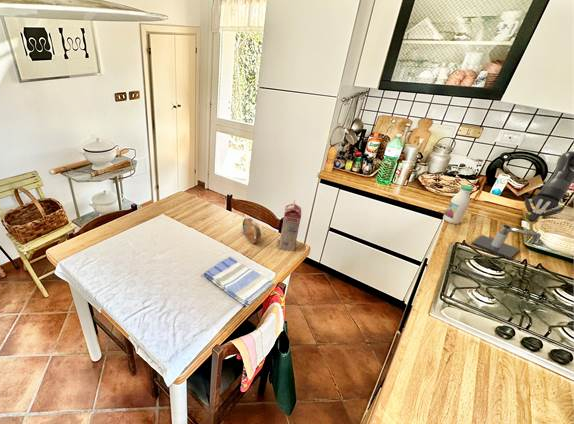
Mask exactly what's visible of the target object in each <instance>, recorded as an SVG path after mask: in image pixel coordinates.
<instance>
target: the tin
mask: <svg viewBox="0 0 574 424" xmlns="http://www.w3.org/2000/svg"><path fill="white" fill-rule="evenodd" d="M242 231H243V234H244V235H245V236H246V238H247V239H248V240H249V241H250V243H252V244H256V243H259V242H260V240H261V236H262V231H261V228H260V227H259V225H258V224H257V223H256V222H255V221H254V220H253V219H252V218H249V217H247V218H244V219H243V220H242Z"/></svg>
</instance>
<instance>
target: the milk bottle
mask: <svg viewBox="0 0 574 424" xmlns="http://www.w3.org/2000/svg"><path fill="white" fill-rule="evenodd" d="M473 189H474V188H473V186H470V185H466V184H463V185H461V186H460V188H459V191H458V192H457V193H456V194H454V195H453V196H452V198H451V199H450V201H449V203H448V206H447V208H446V210H445V211H444V213H443V216H442V220H443V221H445V222H447V223H449V224H453V225H457V224H458V225H459V224H460V223H461V222H462V220H463V218H464V216H465V214H466V212H467V211H468V207H469V205H470V203H471V196H470V195H471V193H472V191H473Z"/></svg>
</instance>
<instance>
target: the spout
mask: <svg viewBox="0 0 574 424" xmlns="http://www.w3.org/2000/svg"><path fill="white" fill-rule="evenodd" d="M498 231H499V233H501V234H503V235H508V236H509V234H510V233H515V234H520V235H525V236H531V237H532V238H531V241H533V242H536V243H537V242H538V241H539V240H540V238H541V237H542V234H541V233H540V232H535V231H530V230H525V229H520V228H514V227H511V226H510V225H507V224H504V225H501V227H500V228H499V230H498Z"/></svg>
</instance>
